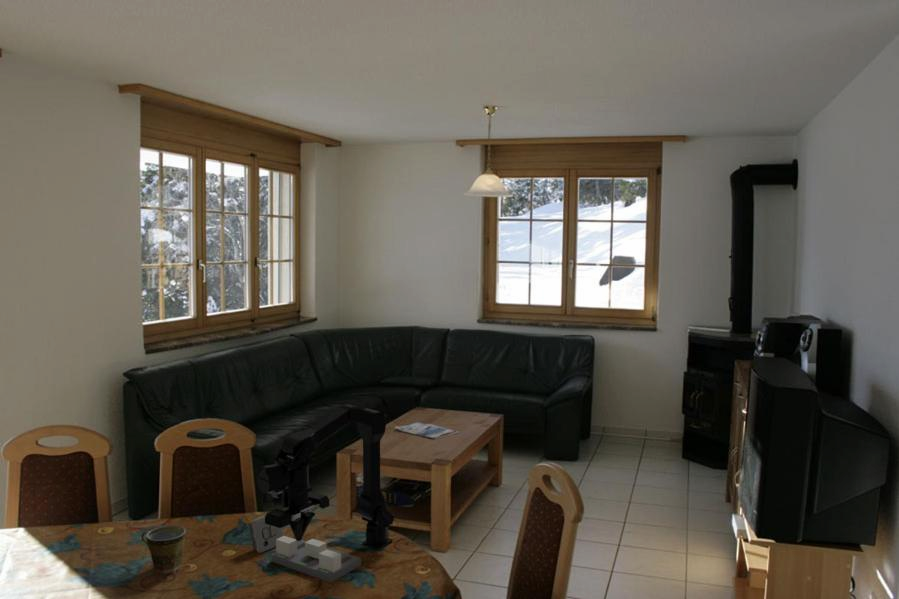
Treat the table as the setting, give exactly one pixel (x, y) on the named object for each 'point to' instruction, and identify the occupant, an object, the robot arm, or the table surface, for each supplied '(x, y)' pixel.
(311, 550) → the handle
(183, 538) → the ceramic cup
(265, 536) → the electrical switch
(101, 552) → the table surface
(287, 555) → the breaker panel
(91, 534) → the table surface
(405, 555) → the table surface
